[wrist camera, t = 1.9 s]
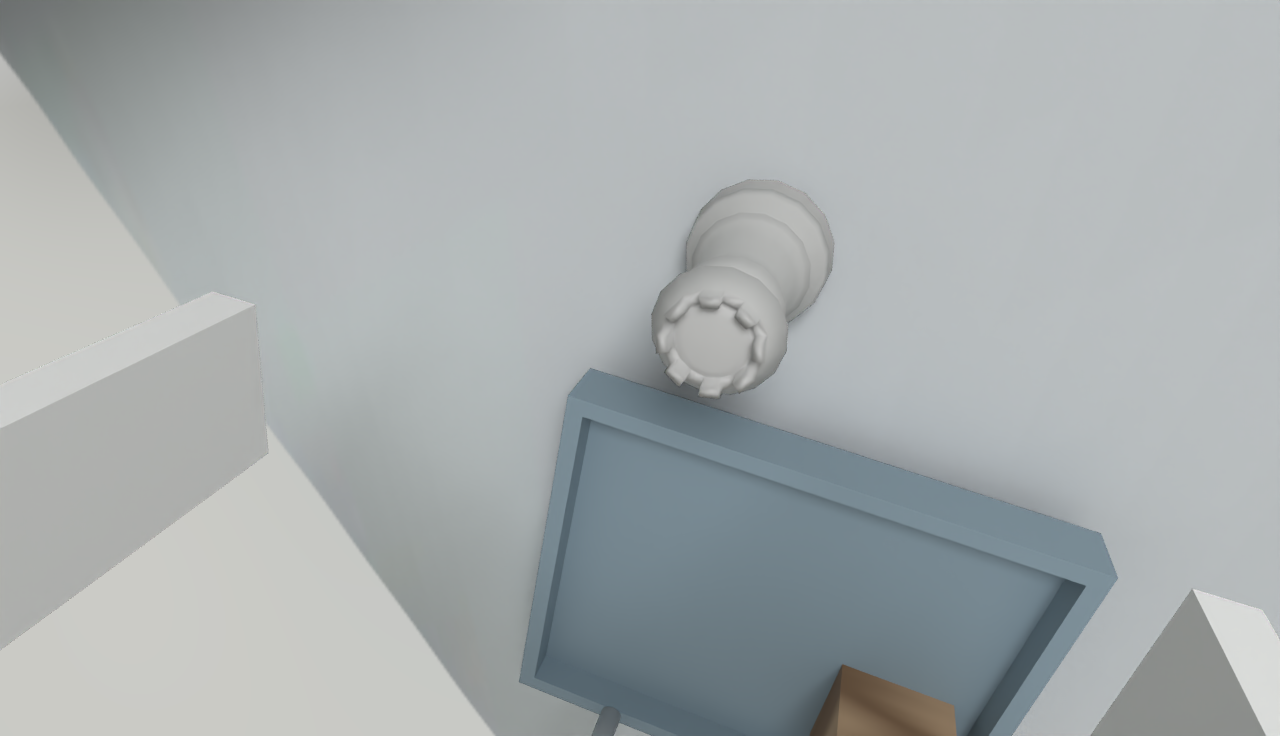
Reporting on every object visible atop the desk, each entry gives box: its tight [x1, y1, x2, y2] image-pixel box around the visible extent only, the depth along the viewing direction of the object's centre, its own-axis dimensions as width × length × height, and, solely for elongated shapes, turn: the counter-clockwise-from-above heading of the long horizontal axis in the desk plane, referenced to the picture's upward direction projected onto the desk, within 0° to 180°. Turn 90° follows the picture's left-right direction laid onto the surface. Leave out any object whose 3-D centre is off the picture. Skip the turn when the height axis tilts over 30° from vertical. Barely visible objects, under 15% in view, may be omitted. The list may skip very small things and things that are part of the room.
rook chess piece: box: [651, 180, 834, 399], centre depth 21 cm, size 4×4×8 cm
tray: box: [519, 368, 1118, 736], centre depth 25 cm, size 14×17×10 cm
